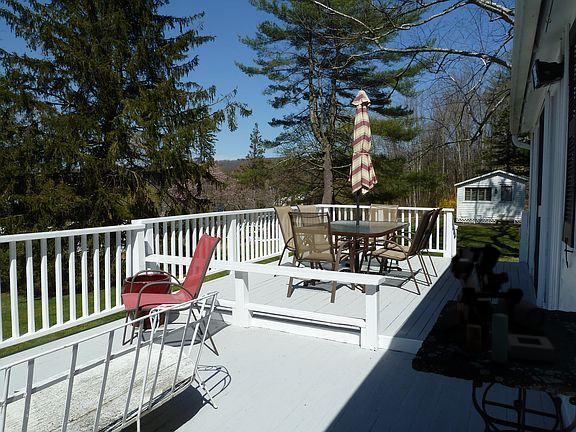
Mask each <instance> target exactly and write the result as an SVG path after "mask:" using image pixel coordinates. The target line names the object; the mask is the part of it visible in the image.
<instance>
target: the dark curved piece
mask: <svg viewBox="0 0 576 432" xmlns="http://www.w3.org/2000/svg"><path fill="white" fill-rule="evenodd" d="M497 299H498V300H497V308H498V309H499V310H500V311H501V313H502V314H505V315H507V316H508V318H510V317H509V314H508V311H507V307H506V303H507V302H506V301H505V299H504V298H497ZM547 321H548V316H547V313H546V311H545V310H544V309H543V308H541V307H540V306H539V305H536V304H535V303H533V302H531V301H529V300H527V299H525V298H523V297H522V299H521V301H520V303H518V304H516V305H515V306H514V313H513V319H512V320H511V322H513V323H515V324H517V326H520V327H522V328H529V329H532V330H540V329H542V328H543V327H545V325H546V324H547Z"/></svg>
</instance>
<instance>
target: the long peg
mask: <svg viewBox="0 0 576 432" xmlns="http://www.w3.org/2000/svg"><path fill="white" fill-rule="evenodd" d="M491 324H492V325H491V326H492V327H491V360H492V362H494V363H496V364H497V363H498V364H506V363H508V361H509V360H508V359H509V358H508V357H509V356H508V355H509V352H508V334H509V317H508V316H507V315H506V314H504V313H493V315H492V322H491Z"/></svg>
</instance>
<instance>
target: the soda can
mask: <svg viewBox="0 0 576 432" xmlns="http://www.w3.org/2000/svg"><path fill="white" fill-rule="evenodd" d="M459 294H460V292H459V293H458V294H457V296H456V324H457V325H458V326H460V327H462V328H466V329H467V325H468V321H467V320H466V319H465V318H464V309H465V307H466V305H465V304H464V303H461V302H460V300H459Z"/></svg>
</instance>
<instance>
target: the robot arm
mask: <svg viewBox="0 0 576 432" xmlns="http://www.w3.org/2000/svg"><path fill="white" fill-rule="evenodd" d="M501 254H502V253H501V251H500V250H499V248H498V247H496V246H494V245H493V244H492V243H489V242H488V243H487V242H485V244H484V245H483V246H481V245H475V246H474V245H471V246H469V247H467V248H465V247H464V248H463V247H461V248H458V249H457V252H456V254H454V255H453V256H452V257H451V258H450V263H449V272H450V273H451V275H452V276H453V278H455V279H457V280H459V283H460V284H461V286H462V288H461V289H460V292H459V293H460V294H459V293H458V294H459V300H460V302H461V303H464V304H465V305H466V307H465V309H464V318H465V319H466V320H467V321H468V325H470V324H473V325H479V326H481V341H482V340H483V341H488V340H489V337H490V324H489V323H488V322H491V323H492V315H493V314H495V309H494V306H493V304H492V303H491V300H490V299H499V298H504V299H505V301H506V302H507V303H506V307H507V311H508V314H509V317H508V318H509V319H510V320H511V321H512V319H513V313H514V306H515V305H516V304H518V303H520V301H521V299H522V298H523V297H524V295H525V294H524V290H523V289H522V288H520V287H508V288H507V291H500V290H501V289H502V285H504V284H507V283H508V282H509V278H510V277H509V274H508V272H507V271H505V272H503V271H502V272H499V273H495V272H494V268H496V266H497V264H498V262H499V259H500V258H501ZM461 259H466V260H461ZM473 273H474V274H475V277H476V280H477V283H476V282H475V280H474V277H473Z"/></svg>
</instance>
